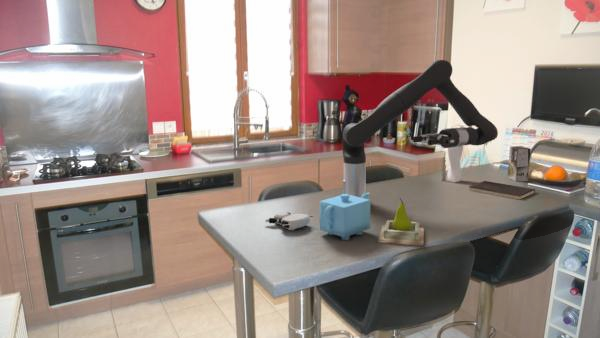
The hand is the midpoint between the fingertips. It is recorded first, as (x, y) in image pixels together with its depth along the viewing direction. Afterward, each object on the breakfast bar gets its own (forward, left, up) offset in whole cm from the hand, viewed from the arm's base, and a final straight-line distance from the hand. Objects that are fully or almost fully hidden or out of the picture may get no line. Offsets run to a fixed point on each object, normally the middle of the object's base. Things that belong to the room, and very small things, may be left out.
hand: (420, 140), depth 170 cm
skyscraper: (+15, +56, -28) cm, 65 cm away
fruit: (-5, -28, -27) cm, 40 cm away
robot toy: (-44, -27, -28) cm, 59 cm away
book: (+35, +39, -29) cm, 60 cm away
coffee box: (+46, +65, -28) cm, 85 cm away
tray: (-5, -29, -28) cm, 40 cm away
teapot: (-23, -29, -28) cm, 46 cm away
